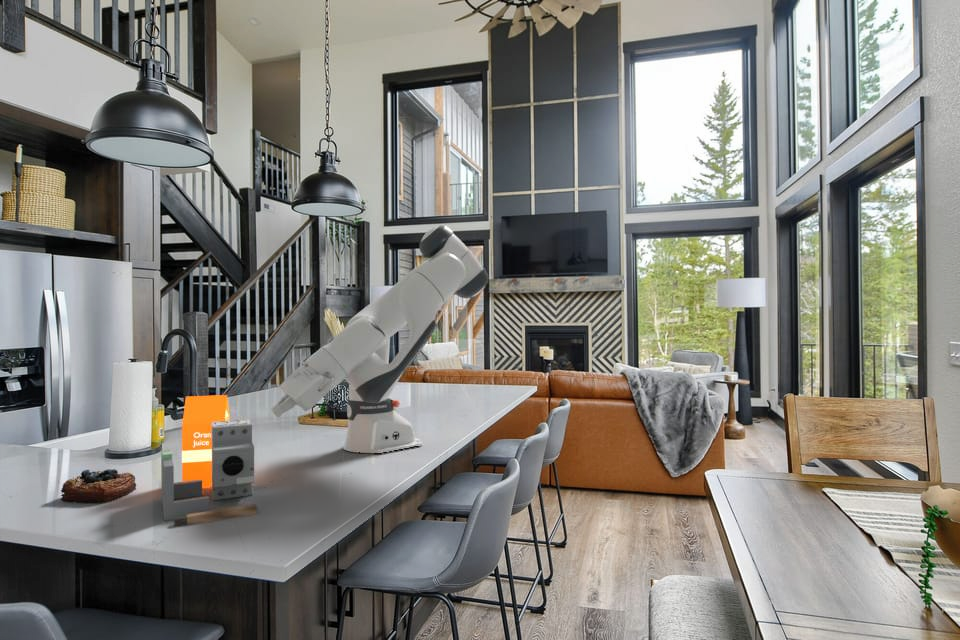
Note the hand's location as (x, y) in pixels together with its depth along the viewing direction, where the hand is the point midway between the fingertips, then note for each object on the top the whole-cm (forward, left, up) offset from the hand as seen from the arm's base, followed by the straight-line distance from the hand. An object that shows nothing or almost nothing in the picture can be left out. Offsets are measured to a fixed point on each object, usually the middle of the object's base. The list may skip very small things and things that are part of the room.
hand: (274, 413), depth 123 cm
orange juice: (+12, -15, -17) cm, 25 cm away
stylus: (+12, +12, -17) cm, 24 cm away
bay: (+17, 0, -17) cm, 24 cm away
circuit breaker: (+8, -1, -17) cm, 19 cm away
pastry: (+32, -17, -17) cm, 40 cm away
